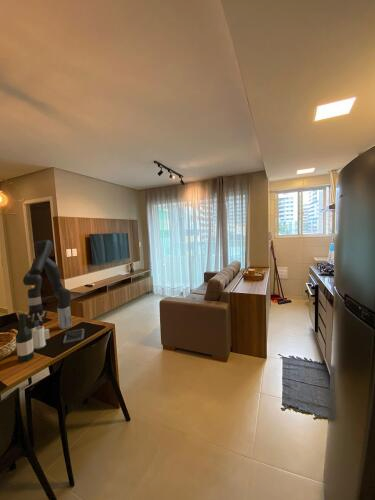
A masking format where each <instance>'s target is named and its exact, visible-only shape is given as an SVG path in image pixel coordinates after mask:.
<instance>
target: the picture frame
mask: <svg viewBox="0 0 375 500" xmlns="http://www.w3.org/2000/svg"><path fill="white" fill-rule="evenodd" d="M84 339H85V328H80V329H75V330H74V329H73V330H67V331H65V333H64V337H63V342H62V344H63V345H65V344H70V343H74V342H80V341H84Z"/></svg>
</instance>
